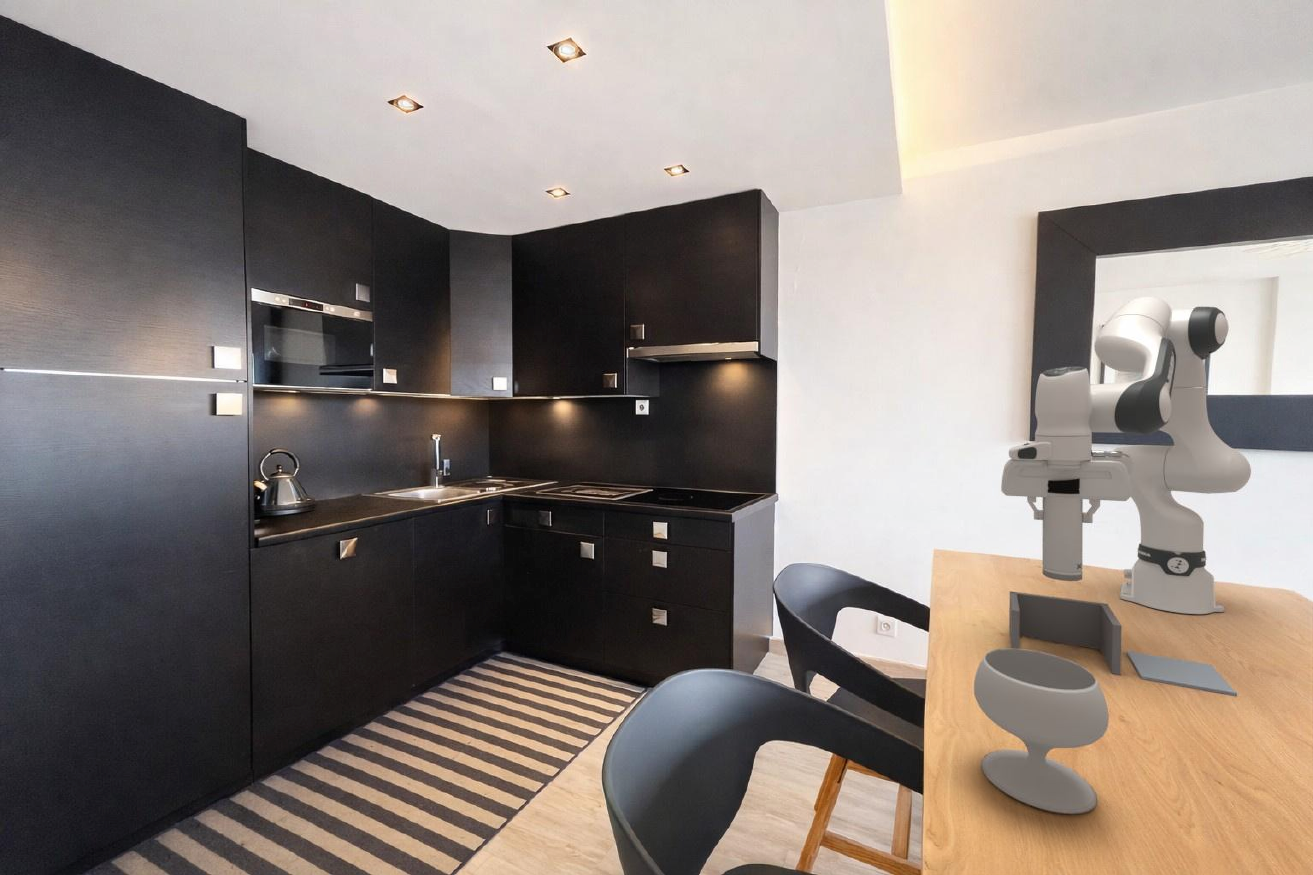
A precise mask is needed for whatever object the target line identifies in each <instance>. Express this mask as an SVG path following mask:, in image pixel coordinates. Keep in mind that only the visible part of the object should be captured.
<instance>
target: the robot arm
mask: <svg viewBox="0 0 1313 875" xmlns="http://www.w3.org/2000/svg"><path fill="white" fill-rule="evenodd" d="M1228 333H1229V323H1228V320H1227V318H1226V315H1225V312H1223V311H1222V310H1221V309H1219V308H1218V307H1216V306H1215V307H1214V306H1195V307H1194V308H1177V309H1175V308H1174V309H1172V308H1171V306H1170V305H1169V304H1168V303H1167V301H1164V300H1163V299H1160V298H1157V297H1155V296H1141V297H1137V298H1134V299H1131V300H1130V301H1128V302H1126V303H1124V304H1123V305H1122V306H1120V308H1119V309H1117V310H1116V311H1115V312H1114V313H1113V314H1112V315H1111V316H1110V317H1109V318H1108V319H1107V321H1106V322H1105V323H1104V325H1103V327H1102V328H1101V329H1100V330H1099V331H1098V333H1097V336H1096V338H1095V341H1094V352H1095V355H1096V356H1097V358H1098V360H1099V361H1100V362H1101V363H1103V364H1104V365H1105V366H1106V367H1108V368H1111V369H1113V370H1115V371H1118V372H1122V373H1123V372H1125V373H1138V374H1142V375H1141V379H1138V380H1133V381H1126V382H1115V383H1114V382H1112V383H1111V382H1110V383H1091V380H1090V375H1089V371H1088V368H1087V367H1083V366H1079V365H1078V366H1063V367H1058V368H1057V367H1055V368H1051V369H1047V370H1044V371H1043V372H1041V373H1040V375H1039V377H1038V380H1037V385H1036V391H1035V402H1034V404H1035V405H1034V414H1035V417H1036V421H1037V424H1036V430H1035V434H1034V441H1032V442H1029V443H1028V442H1027V443H1024V444H1021V445H1017V446H1013V447H1011V448H1009V450H1008V456H1009V458H1010V459H1009V460H1007V461H1006V462H1005V464H1004V466H1003V471H1002V477H1001V486H1000V487H1001V489H1000V490H1001V492H1002V494H1004V495H1005V496H1009V497H1026V499H1027V501H1026V502H1027V503H1028V504H1029V506H1030V508H1031V509H1032V511H1033V520H1035V521H1038V520H1039V521H1043V509H1038V508H1037V506H1036V505H1035V504H1034V503H1037V498H1043V497H1047V496H1048V495H1047V493H1048V489H1049V488H1048V480H1052V481H1059V480H1073V479H1079V478H1080V489H1079V491H1080V496H1079V497H1080V498H1081V499H1083V500H1088V503H1089V505H1091V506H1090V507H1089V509H1088V510H1087V512H1084V511H1083V523H1084V524H1085V523H1086V524H1093V520H1094V519H1093V518H1094V517H1093V516H1094V514H1095V513H1096V512H1097V510H1099V509H1100V507H1101V501H1109V502H1110V501H1111V502H1112V501H1114V502H1115V501H1116V502H1126V501H1128V500H1129V499H1130V498H1131V499H1132V501H1133V503H1135V506H1136V508H1137V511H1138V515H1139V522H1140V524H1139V525H1140V542H1139V544H1138V548H1137V558H1138V559H1137V560H1136V561H1135V563H1134V564H1133V565H1132V567H1131V568H1130V569H1129V568H1127V569H1123V572H1124V573H1123V574H1124V575H1123V577H1124V579H1128V580H1127V581H1124V582H1123V581H1122V582H1121V588H1120V593H1119V598H1120V600H1124V601H1127V602H1132V603H1136V604H1139V605H1142V606H1144V607H1149V608H1152V609H1157V610H1161V611H1167V612H1172V613H1178V614H1187V615H1188V614H1189V615H1207V614H1210V613H1222V612H1223V613H1224V612H1225V607H1224V606H1223V605H1222V604H1219V603H1217V602H1216V590H1215V589H1216V587H1215V577H1214V575H1213V574H1212V573H1211V572H1209V571H1208V570H1207V569H1206V568H1205V567H1206V565H1207V562H1206V561H1207V556H1206V555H1207V554H1206V551H1205V550H1204V532H1205V531H1204V529H1205V528H1204V527H1205V524H1204V521H1203V518H1202V517H1201V515H1200V514H1199V513H1197V512H1196V511H1194V510H1192V508H1189V507H1187V506H1185V505H1182V504H1180V503H1178V502H1177V501H1176V500H1175V499H1174V496H1173V495H1172V492H1182V493H1183V492H1185V493H1195V494H1225V493H1235V492H1236V493H1237V492H1238V491H1239V490H1241V489H1243V488H1244V487H1245V486H1246V485H1247V483H1248V482H1249V480H1250V478H1251V474H1252V469H1251V464H1250V462H1249V460H1248V459H1247V458H1246V457H1245V455H1244V454H1242V453H1241V452H1240V451H1238V450H1237V449H1234V448H1232V447H1231V446H1229V445H1228V444H1227V443H1225V442H1224V441H1223V440H1222V439H1221V438H1220V437H1219V436H1218V435H1217V434H1216V432H1215V431H1214V429H1213V428H1212V426H1211V423H1210V421H1209V417H1208V408H1207V374H1206V366H1205V362H1204V360H1206V359H1208V357H1209V355H1211V354H1213V353H1215V352H1217V351H1218V350H1219V349H1220V348H1221V347H1222V346H1223V345H1224V344H1225V342H1226V340H1227V339H1226V338H1227V336H1228ZM1157 431H1161V432H1164V433H1166V434H1167V435H1169V436H1170V437H1171V439H1172V441H1173V445H1161V444H1160V445H1158V444H1157V445H1154V444H1151V445H1150V444H1137V445H1128V446H1127V445H1126V446H1121V447H1116V448H1115V449H1113V450H1112V451H1111V450H1110V451H1107V450H1106V451H1105V450H1093V449H1092V446H1093V441H1092V440H1093V439H1092V437H1093V434H1092V433H1118V434H1119V433H1124V434H1129V435H1145V436H1149V435H1151V434H1153V433H1155V432H1157ZM1129 579H1130V580H1129Z"/></svg>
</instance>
